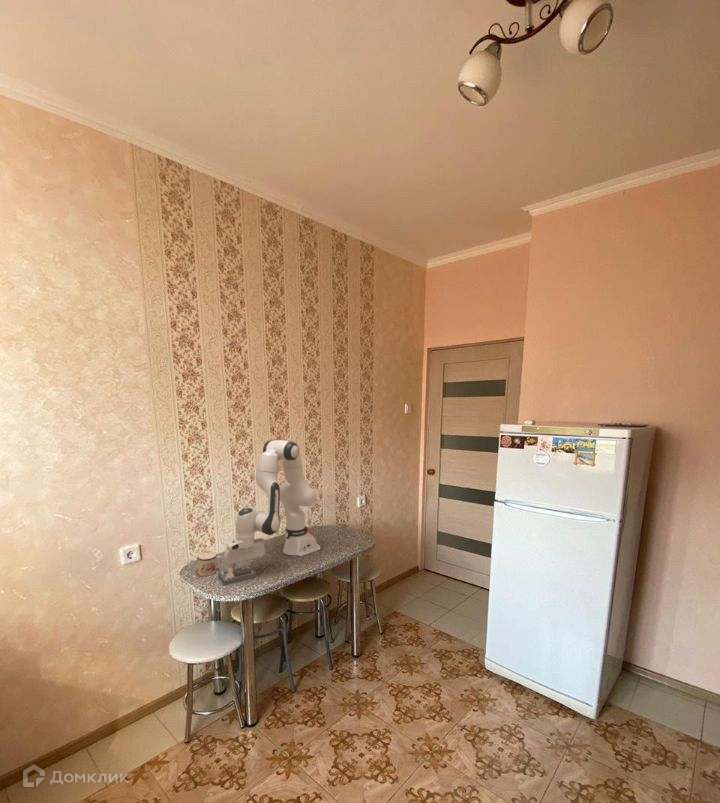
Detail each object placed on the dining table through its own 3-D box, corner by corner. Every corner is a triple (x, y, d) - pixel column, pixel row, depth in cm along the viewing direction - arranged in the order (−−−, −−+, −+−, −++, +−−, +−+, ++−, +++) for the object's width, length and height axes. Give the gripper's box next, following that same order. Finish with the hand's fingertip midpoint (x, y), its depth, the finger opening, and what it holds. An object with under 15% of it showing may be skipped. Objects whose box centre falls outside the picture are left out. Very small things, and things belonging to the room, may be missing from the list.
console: (249, 568, 195) (249, 556, 195) (256, 576, 186) (256, 563, 186) (218, 576, 186) (218, 563, 186) (224, 585, 177) (224, 571, 177)
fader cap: (232, 574, 183) (232, 565, 183) (234, 577, 180) (234, 567, 180) (225, 576, 181) (225, 566, 181) (227, 578, 178) (227, 569, 178)
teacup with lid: (199, 578, 183) (200, 555, 183) (195, 571, 190) (196, 549, 190) (224, 572, 190) (224, 550, 190) (219, 565, 197) (220, 544, 197)
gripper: (262, 535, 194) (262, 561, 194) (223, 543, 182) (222, 571, 182) (267, 539, 188) (266, 565, 188) (226, 548, 177) (226, 576, 177)
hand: (244, 568), depth 185 cm, fingers closed
